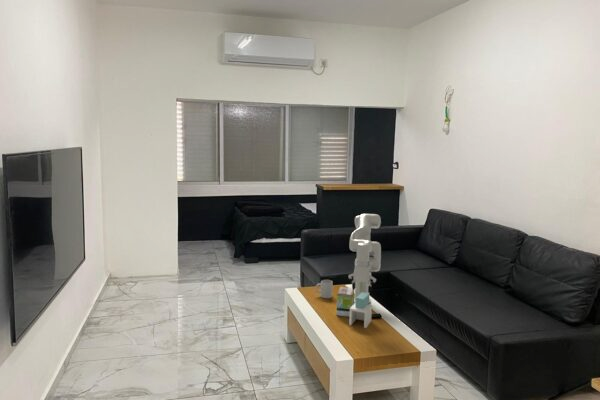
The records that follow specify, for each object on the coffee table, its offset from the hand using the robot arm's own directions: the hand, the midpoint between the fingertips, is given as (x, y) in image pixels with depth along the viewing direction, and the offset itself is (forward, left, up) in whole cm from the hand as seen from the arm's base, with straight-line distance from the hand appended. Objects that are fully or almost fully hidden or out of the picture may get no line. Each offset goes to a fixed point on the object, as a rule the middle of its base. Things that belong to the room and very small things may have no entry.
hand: (361, 290), depth 280 cm
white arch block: (+1, 0, -20) cm, 20 cm away
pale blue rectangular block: (-2, 0, -10) cm, 10 cm away
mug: (-34, -37, -21) cm, 54 cm away
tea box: (-12, -14, -21) cm, 28 cm away
